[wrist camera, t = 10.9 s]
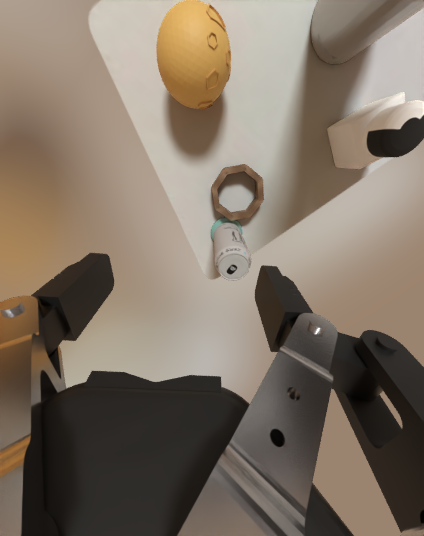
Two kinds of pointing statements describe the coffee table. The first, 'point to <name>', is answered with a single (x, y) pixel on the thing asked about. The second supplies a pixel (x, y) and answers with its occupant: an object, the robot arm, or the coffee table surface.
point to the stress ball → (194, 53)
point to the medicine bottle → (377, 132)
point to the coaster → (222, 221)
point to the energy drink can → (230, 252)
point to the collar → (255, 202)
